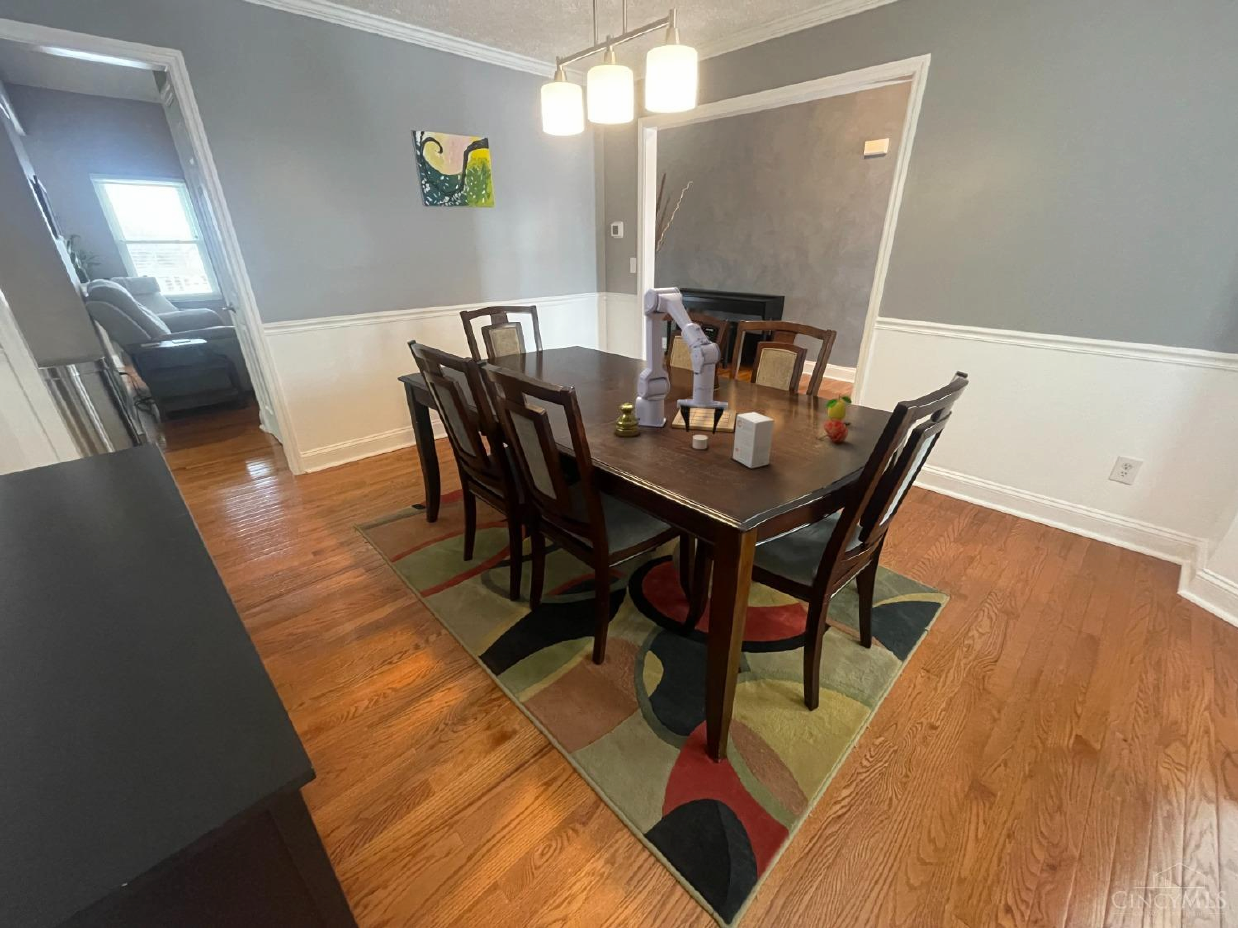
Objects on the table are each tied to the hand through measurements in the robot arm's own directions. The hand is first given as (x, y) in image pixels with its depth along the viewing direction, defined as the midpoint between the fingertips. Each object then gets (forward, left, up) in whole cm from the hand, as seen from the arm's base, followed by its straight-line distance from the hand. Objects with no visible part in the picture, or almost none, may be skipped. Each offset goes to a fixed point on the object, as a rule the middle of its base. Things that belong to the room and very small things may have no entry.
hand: (700, 432), depth 145 cm
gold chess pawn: (-24, +6, -5) cm, 25 cm away
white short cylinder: (0, 0, -5) cm, 5 cm away
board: (-1, +25, -5) cm, 25 cm away
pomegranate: (+39, +14, -5) cm, 42 cm away
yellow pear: (+42, +33, -5) cm, 54 cm away
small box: (+15, -8, -5) cm, 18 cm away
